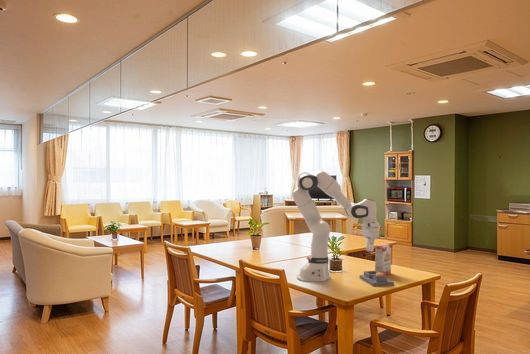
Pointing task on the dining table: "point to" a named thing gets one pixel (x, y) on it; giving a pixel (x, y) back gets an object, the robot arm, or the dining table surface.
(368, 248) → the cartridge
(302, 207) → the robot arm
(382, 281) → the housing
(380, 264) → the cracker box
